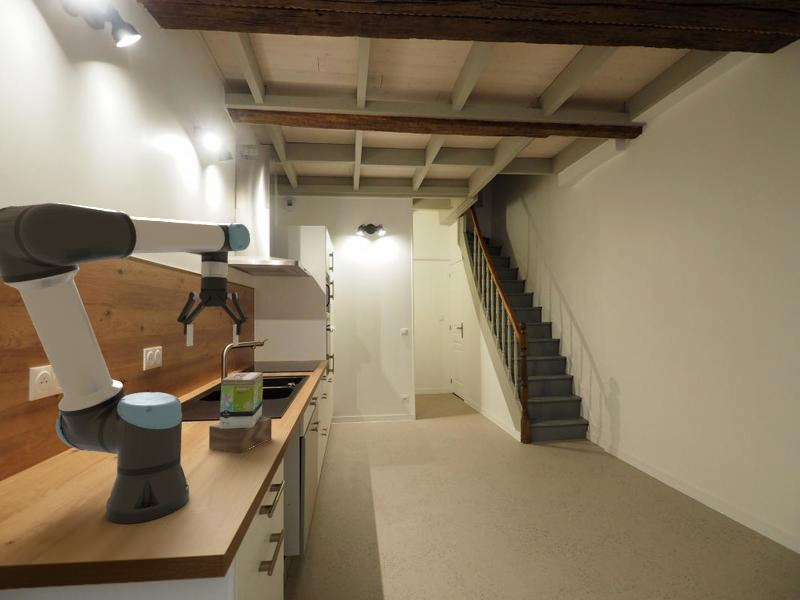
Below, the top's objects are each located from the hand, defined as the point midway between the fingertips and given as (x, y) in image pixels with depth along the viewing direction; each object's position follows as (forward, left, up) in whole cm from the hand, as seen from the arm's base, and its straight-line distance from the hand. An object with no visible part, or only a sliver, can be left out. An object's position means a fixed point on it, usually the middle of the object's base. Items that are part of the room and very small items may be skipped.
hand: (212, 345), depth 121 cm
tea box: (+6, -6, -25) cm, 26 cm away
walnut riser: (+6, -6, -31) cm, 33 cm away
